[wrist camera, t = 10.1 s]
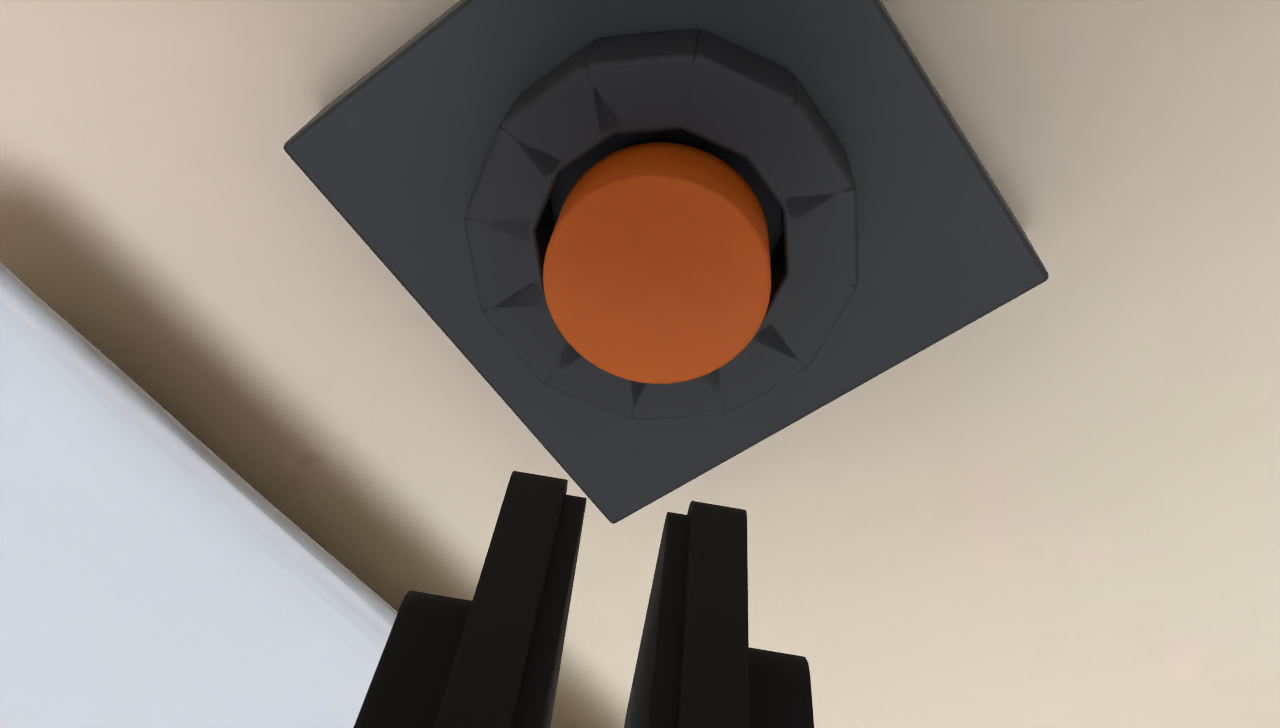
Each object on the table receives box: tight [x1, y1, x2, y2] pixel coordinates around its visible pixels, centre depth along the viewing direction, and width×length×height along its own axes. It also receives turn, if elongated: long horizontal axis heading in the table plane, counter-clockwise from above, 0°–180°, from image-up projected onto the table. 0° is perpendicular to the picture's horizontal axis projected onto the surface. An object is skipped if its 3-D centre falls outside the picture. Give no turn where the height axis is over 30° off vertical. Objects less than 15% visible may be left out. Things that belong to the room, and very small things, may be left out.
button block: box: [283, 0, 1048, 524], centre depth 21 cm, size 10×10×4 cm
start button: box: [543, 142, 771, 384], centre depth 19 cm, size 4×4×2 cm
